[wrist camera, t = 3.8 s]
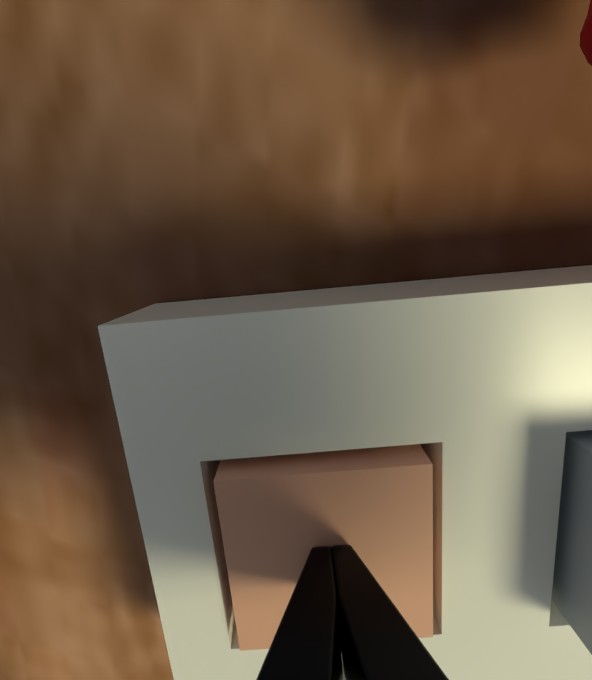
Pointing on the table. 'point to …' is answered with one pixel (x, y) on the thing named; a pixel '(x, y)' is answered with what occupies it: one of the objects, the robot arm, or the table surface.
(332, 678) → the robot arm
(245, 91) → the table surface
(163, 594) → the button board
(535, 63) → the table surface
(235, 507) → the terracotta tile
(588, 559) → the slate tile
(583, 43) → the red irregular piece
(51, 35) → the table surface
